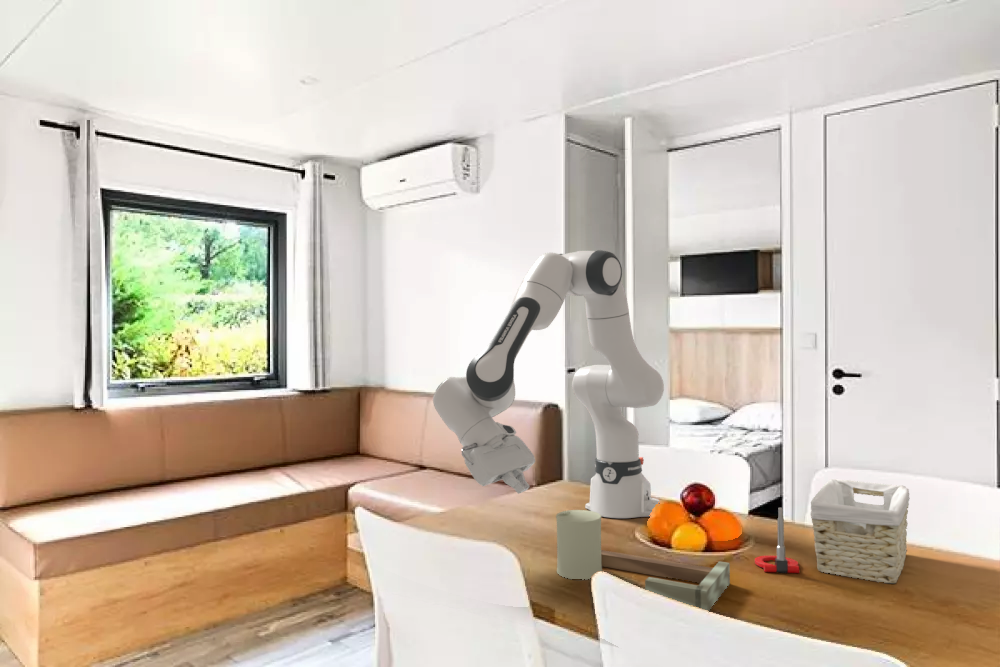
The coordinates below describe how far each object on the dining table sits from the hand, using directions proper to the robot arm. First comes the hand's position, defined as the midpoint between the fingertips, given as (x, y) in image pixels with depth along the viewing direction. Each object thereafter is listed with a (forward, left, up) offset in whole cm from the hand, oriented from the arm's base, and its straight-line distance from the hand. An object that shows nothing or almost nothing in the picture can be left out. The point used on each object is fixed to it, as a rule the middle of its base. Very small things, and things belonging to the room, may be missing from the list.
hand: (524, 490), depth 151 cm
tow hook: (-23, +46, -16) cm, 54 cm away
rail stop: (0, +25, -15) cm, 30 cm away
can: (0, +12, -15) cm, 20 cm away
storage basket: (-33, +61, -16) cm, 71 cm away
